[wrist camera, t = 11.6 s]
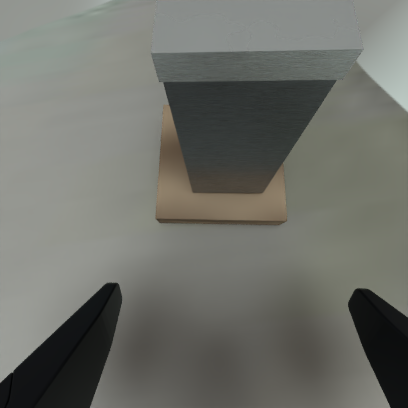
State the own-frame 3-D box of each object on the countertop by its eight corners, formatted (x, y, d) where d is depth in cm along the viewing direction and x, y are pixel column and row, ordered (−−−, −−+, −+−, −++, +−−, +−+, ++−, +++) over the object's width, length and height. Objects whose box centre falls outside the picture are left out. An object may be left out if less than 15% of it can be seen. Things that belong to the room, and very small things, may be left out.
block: (276, 225, 20) (287, 220, 17) (161, 223, 20) (155, 218, 17) (270, 123, 22) (279, 106, 20) (167, 121, 22) (163, 104, 20)
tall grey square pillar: (264, 194, 17) (363, 48, 6) (191, 193, 18) (150, 53, 6) (260, 130, 19) (334, -85, 7) (193, 130, 19) (164, -77, 8)
